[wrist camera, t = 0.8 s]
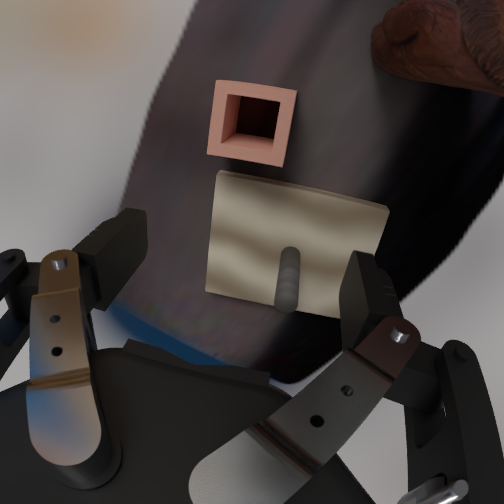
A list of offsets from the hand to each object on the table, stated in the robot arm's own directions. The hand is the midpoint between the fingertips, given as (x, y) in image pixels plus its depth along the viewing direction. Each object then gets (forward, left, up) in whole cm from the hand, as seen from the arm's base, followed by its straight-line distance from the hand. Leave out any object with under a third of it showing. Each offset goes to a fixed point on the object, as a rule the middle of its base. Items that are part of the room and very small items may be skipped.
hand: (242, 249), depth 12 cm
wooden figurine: (-13, +12, -20) cm, 27 cm away
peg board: (+10, +3, -20) cm, 22 cm away
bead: (-3, -2, -20) cm, 20 cm away
